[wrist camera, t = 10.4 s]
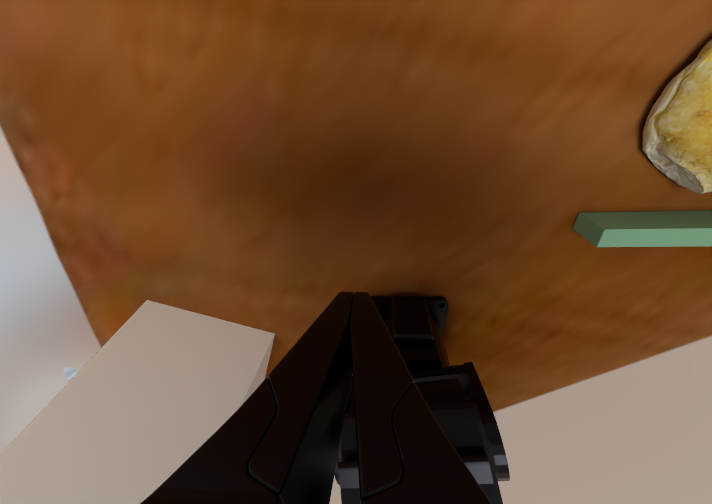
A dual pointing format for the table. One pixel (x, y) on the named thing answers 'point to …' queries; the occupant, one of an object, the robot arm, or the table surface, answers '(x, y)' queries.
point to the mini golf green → (646, 228)
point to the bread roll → (684, 126)
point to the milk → (136, 409)
